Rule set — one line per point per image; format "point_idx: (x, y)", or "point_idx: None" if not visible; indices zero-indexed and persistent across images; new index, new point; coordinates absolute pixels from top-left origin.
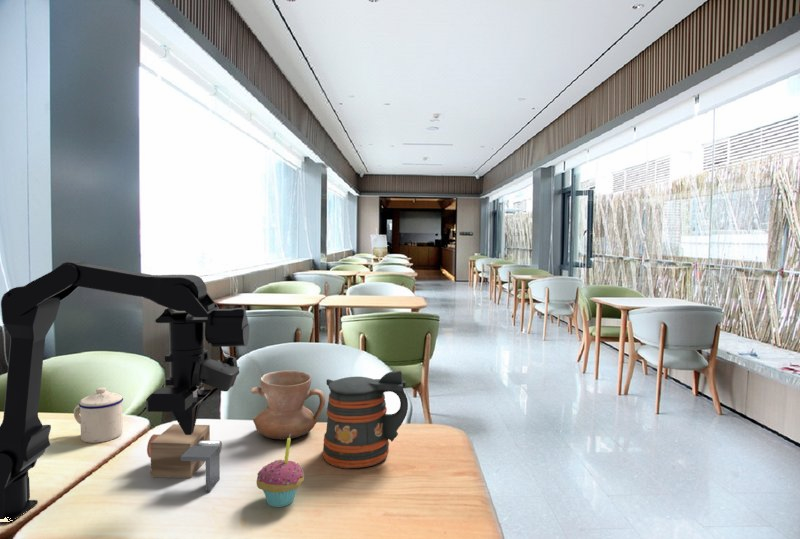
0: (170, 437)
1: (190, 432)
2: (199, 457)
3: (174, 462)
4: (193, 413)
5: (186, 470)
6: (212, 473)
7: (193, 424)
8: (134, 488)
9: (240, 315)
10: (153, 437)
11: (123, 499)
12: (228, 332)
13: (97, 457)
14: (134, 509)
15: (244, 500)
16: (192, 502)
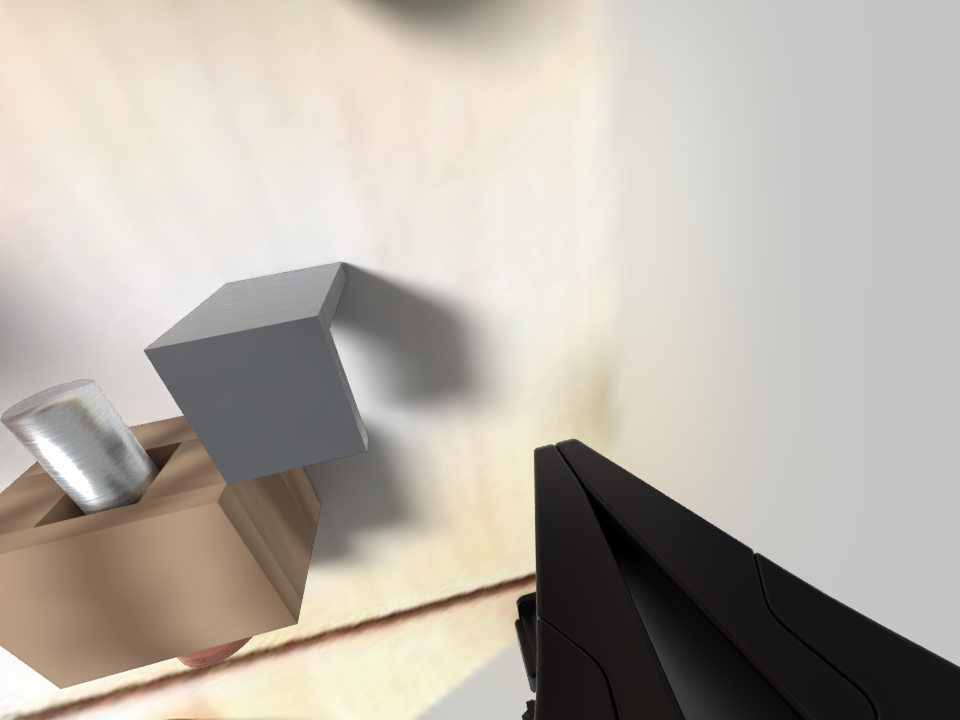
0: (204, 607)
1: (592, 451)
2: (338, 368)
3: (278, 486)
4: (814, 625)
5: None
6: (299, 286)
7: (598, 497)
8: (399, 495)
9: None
10: (220, 651)
11: (462, 478)
12: None
13: (280, 671)
14: (505, 419)
15: (351, 53)
16: (429, 283)
